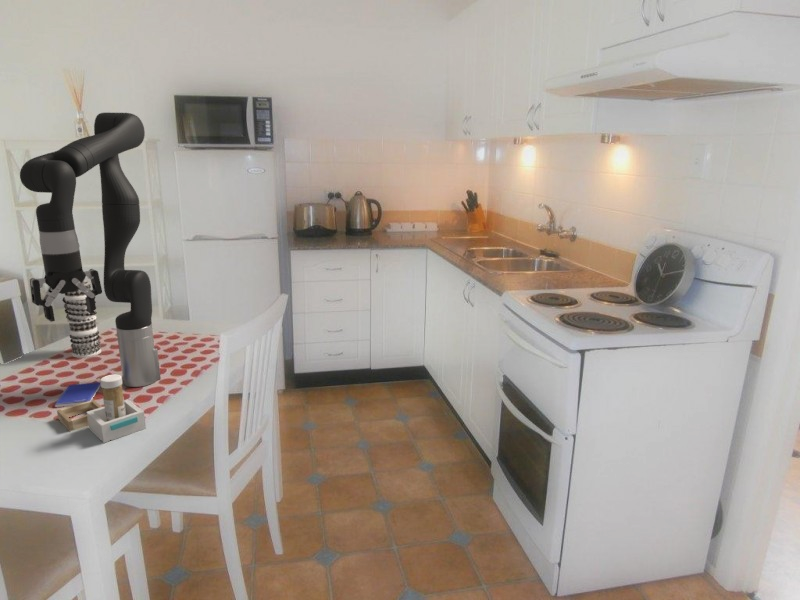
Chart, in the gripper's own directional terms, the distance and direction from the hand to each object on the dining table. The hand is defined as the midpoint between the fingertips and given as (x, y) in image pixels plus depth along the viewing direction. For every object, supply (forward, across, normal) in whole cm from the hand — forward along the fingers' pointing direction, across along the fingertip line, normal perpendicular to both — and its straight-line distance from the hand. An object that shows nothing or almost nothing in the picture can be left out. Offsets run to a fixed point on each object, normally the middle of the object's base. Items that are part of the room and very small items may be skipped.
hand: (71, 316), depth 131 cm
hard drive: (+28, -3, -16) cm, 33 cm away
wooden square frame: (+27, +1, -1) cm, 27 cm away
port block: (+27, -3, +10) cm, 29 cm away
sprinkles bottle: (+28, -3, +10) cm, 29 cm away
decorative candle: (+28, -17, -49) cm, 59 cm away
